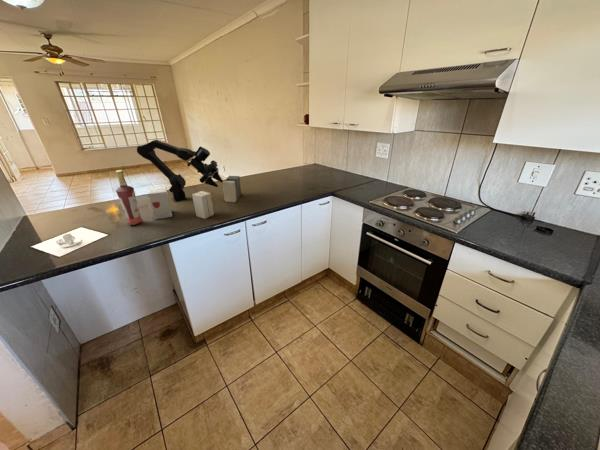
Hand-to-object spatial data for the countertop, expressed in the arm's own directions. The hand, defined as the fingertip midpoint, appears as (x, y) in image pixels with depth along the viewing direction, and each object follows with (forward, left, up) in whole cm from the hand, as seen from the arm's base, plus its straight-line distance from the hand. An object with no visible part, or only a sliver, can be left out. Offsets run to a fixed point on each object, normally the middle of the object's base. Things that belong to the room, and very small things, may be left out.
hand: (220, 184), depth 155 cm
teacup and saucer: (-76, -3, -11) cm, 76 cm away
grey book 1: (+9, +2, -11) cm, 15 cm away
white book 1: (-19, -16, -11) cm, 27 cm away
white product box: (-36, 0, -11) cm, 37 cm away
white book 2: (-16, -14, -11) cm, 24 cm away
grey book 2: (+12, +4, -11) cm, 17 cm away
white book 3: (+4, -4, -11) cm, 12 cm away
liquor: (-50, -2, -11) cm, 51 cm away
